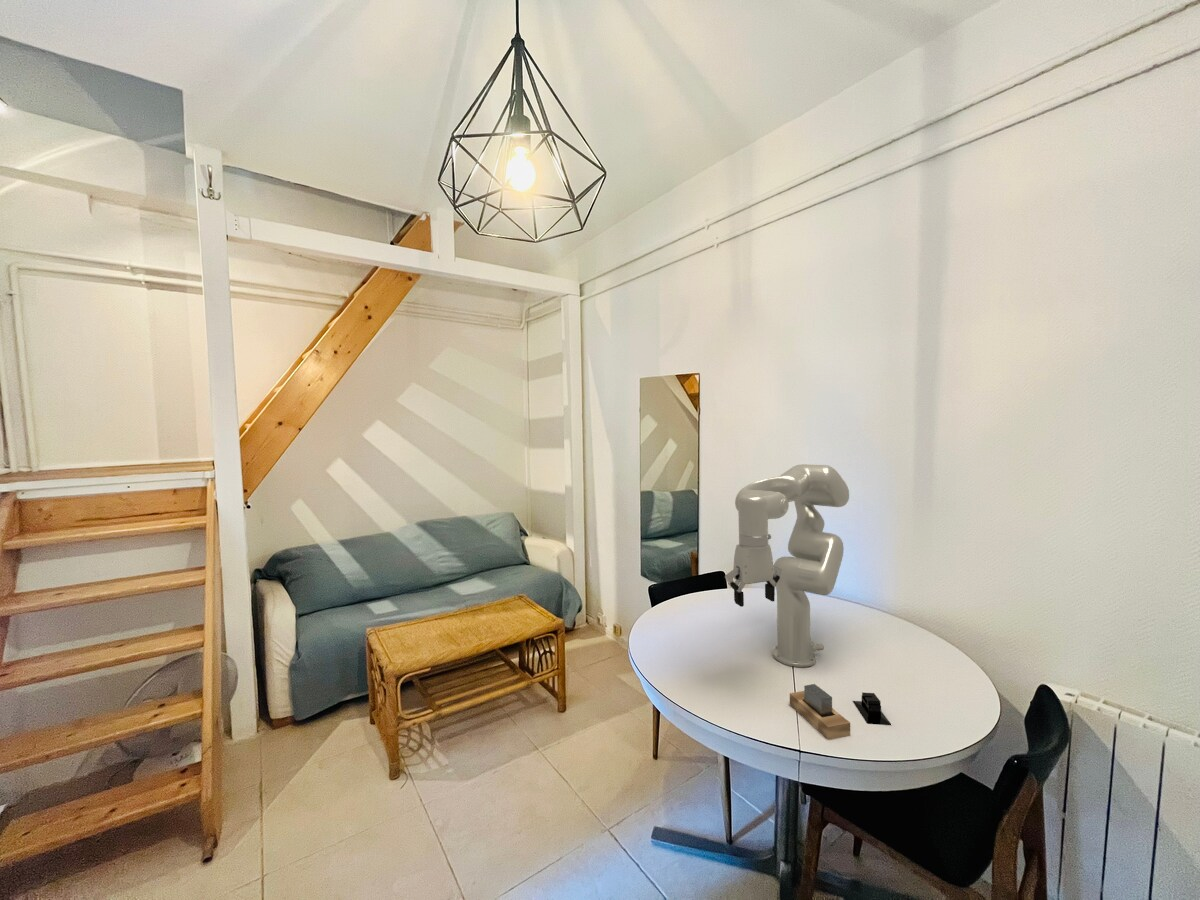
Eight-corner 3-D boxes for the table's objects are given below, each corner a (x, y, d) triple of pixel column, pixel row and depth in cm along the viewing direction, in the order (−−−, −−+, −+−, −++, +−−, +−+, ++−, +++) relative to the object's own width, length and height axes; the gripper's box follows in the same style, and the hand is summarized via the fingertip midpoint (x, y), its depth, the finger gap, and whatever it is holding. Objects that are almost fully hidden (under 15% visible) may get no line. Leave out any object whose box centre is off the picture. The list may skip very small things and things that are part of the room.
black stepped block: (846, 699, 120) (846, 682, 119) (876, 701, 118) (876, 684, 118) (866, 729, 107) (866, 710, 107) (899, 732, 106) (899, 713, 106)
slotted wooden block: (789, 704, 117) (789, 693, 117) (809, 700, 118) (809, 689, 118) (828, 739, 103) (828, 727, 103) (850, 735, 105) (850, 722, 104)
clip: (804, 712, 113) (804, 685, 113) (814, 710, 114) (814, 683, 114) (821, 727, 107) (821, 699, 107) (832, 725, 108) (832, 697, 108)
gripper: (771, 534, 128) (772, 593, 129) (717, 540, 123) (719, 601, 124) (789, 540, 121) (790, 602, 121) (733, 547, 116) (734, 612, 117)
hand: (754, 602), depth 123 cm, fingers open, 9 cm apart
